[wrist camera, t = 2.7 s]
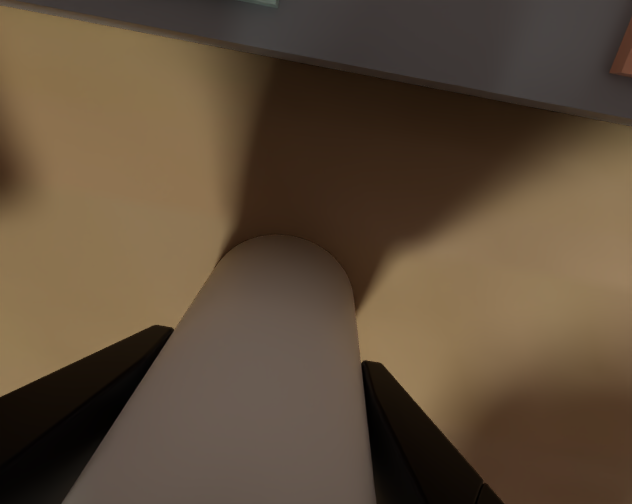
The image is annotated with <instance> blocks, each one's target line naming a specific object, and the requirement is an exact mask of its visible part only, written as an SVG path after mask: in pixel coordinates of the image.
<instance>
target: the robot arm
mask: <svg viewBox="0 0 632 504" xmlns="http://www.w3.org/2000/svg"><path fill="white" fill-rule="evenodd" d="M173 331H174V329H173V328H172V327H166V326H160V325H154V326H151V327H149V328H147V329H145V330H143V331H140V332H138V333H136V334H134V335H132V336H130V337H128V338H126V339H123V340H121V341H119V342H117V343H115V344H113V345H111V346H108V347H106V348H104V349H102V350H100V351H98V352H96V353H94V354H91V355H89V356H87V357H85V358H83V359H81V360H79V361H76V362H74V363H72V364H70V365H68V366H66V367H64V368H61V369H59V370H57V371H55V372H53V373H51V374H49V375H47V376H44V377H42V378H40V379H38V380H36V381H34V382H32V383H29V384H27V385H25V386H23V387H21V388H19V389H17V390H15V391H12V392H10V393H8V394H6V395H4V396H2V397H0V504H61V503H62V502H63V500H64V499H65V497H66V495H67V494H68V492H69V491H70V489H71V488H72V486H73V485H74V483H75V482H76V480H77V479H78V477H79V476H80V474H81V472H82V471H83V469H84V468H85V466H86V465H87V463H88V462H89V460H90V459H91V457H92V456H93V454H94V453H95V451H96V449H97V448H98V446H99V445H100V443H101V442H102V440H103V439H104V437H105V436H106V434H107V433H108V431H109V429H110V428H111V426H112V425H113V423H114V422H115V420H116V419H117V417H118V416H119V414H120V413H121V411H122V410H123V408H124V406H125V405H126V403H127V402H128V400H129V399H130V397H131V396H132V394H133V393H134V391H135V390H136V388H137V387H138V385H139V383H140V382H141V380H142V379H143V377H144V376H145V374H146V373H147V371H148V370H149V368H150V367H151V365H152V363H153V362H154V360H155V359H156V357H157V356H158V354H159V353H160V351H161V350H162V348H163V347H164V345H165V344H166V342H167V340H168V339H169V337H170V336H171V334H172V333H173ZM361 368H362V377H363V386H364V395H365V404H366V413H367V422H368V431H369V440H370V449H371V458H372V467H373V476H374V485H375V495H376V504H504V503H503V502H502V500H501V499H500V498H499V497H498V496H497V495H496V494H495V492H494V491H493V490H492V489H491V488H490V487H489V486H488V484H486V483H483V479H482V478H481V477H480V476H479V474H478V473H477V472H476V471H475V470H474V469H473V467H472V466H471V465H470V464H469V463H468V462H467V461H466V459H465V458H464V457H463V456H462V455H461V454H460V453H459V451H458V450H457V449H456V448H455V447H454V446H453V445H452V443H451V442H450V441H449V440H448V439H447V438H446V437H445V435H444V434H443V433H442V432H441V431H440V430H439V428H438V427H437V426H436V425H435V424H434V423H433V422H432V420H431V419H430V418H429V417H428V416H427V415H426V414H425V412H424V411H423V410H422V409H421V408H420V407H419V406H418V404H417V403H416V402H415V401H414V400H413V399H412V398H411V396H410V395H409V394H408V393H407V392H406V391H405V390H404V388H403V387H402V386H401V385H400V384H399V383H398V381H397V380H396V379H395V378H394V377H393V376H392V375H391V373H390V372H389V371H388V370H387V369H386V368H385V367H384V365H383V364H381V363H379V362H373V361H367V360H364V361H363V362H362V363H361Z"/></svg>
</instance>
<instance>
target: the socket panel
mask: <svg viewBox="0 0 632 504" xmlns="http://www.w3.org/2000/svg"><path fill="white" fill-rule="evenodd" d="M0 5H2V6H8V7H13V8H18V9H23V10H28V11H34V12H39V13H44V14H49V15H55V16H60V17H65V18H70V19H75V20H81V21H86V22H91V23H96V24H101V25H107V26H112V27H117V28H122V29H128V30H133V31H138V32H143V33H148V34H154V35H159V36H164V37H169V38H174V39H180V40H185V41H190V42H195V43H201V44H206V45H211V46H216V47H221V48H227V49H232V50H237V51H242V52H247V53H253V54H258V55H263V56H268V57H273V58H279V59H284V60H289V61H294V62H300V63H305V64H310V65H315V66H320V67H326V68H331V69H336V70H341V71H346V72H352V73H357V74H362V75H367V76H373V77H378V78H383V79H388V80H393V81H399V82H404V83H409V84H414V85H419V86H425V87H430V88H435V89H440V90H446V91H451V92H456V93H461V94H466V95H472V96H477V97H482V98H487V99H492V100H498V101H503V102H508V103H513V104H518V105H524V106H529V107H534V108H539V109H545V110H550V111H555V112H560V113H565V114H571V115H576V116H581V117H586V118H591V119H597V120H602V121H607V122H612V123H618V124H623V125H628V126H632V0H0Z"/></svg>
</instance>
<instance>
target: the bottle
mask: <svg viewBox="0 0 632 504" xmlns="http://www.w3.org/2000/svg"><path fill="white" fill-rule="evenodd" d="M61 504H376V495H375V485H374V476H373V467H372V458H371V449H370V440H369V431H368V422H367V413H366V404H365V395H364V386H363V377H362V368H361V359H360V350H359V341H358V331H357V322H356V313H355V304H354V296H353V290H352V286H351V283H350V280H349V278H348V276H347V274H346V272H345V271H344V269H343V268H342V266H341V265H340V264H339V262H338V261H337V260H336V259H335V258H334V257H333V256H332V255H331V254H330V253H329V252H327V251H326V250H324V249H323V248H322V247H320V246H318V245H316V244H314V243H312V242H310V241H308V240H305V239H302V238H299V237H295V236H289V235H265V236H259V237H256V238H252V239H249V240H247V241H245V242H242V243H241V244H239V245H237V246H235V247H234V248H233V249H231V250H230V251H229V252H227V253H226V254H225V255H224V257H223V258H222V259H221V260H220V261H219V263H218V264H217V265H216V267H215V268H214V270H213V271H212V273H211V274H210V276H209V278H208V279H207V281H206V282H205V284H204V285H203V287H202V288H201V290H200V291H199V293H198V294H197V296H196V297H195V299H194V301H193V302H192V304H191V305H190V307H189V308H188V310H187V311H186V313H185V314H184V316H183V317H182V319H181V321H180V322H179V324H178V325H177V327H176V328H175V330H174V331H173V333H172V334H171V336H170V337H169V339H168V340H167V342H166V344H165V345H164V347H163V348H162V350H161V351H160V353H159V354H158V356H157V357H156V359H155V360H154V362H153V363H152V365H151V367H150V368H149V370H148V371H147V373H146V374H145V376H144V377H143V379H142V380H141V382H140V383H139V385H138V387H137V388H136V390H135V391H134V393H133V394H132V396H131V397H130V399H129V400H128V402H127V403H126V405H125V406H124V408H123V410H122V411H121V413H120V414H119V416H118V417H117V419H116V420H115V422H114V423H113V425H112V426H111V428H110V429H109V431H108V433H107V434H106V436H105V437H104V439H103V440H102V442H101V443H100V445H99V446H98V448H97V449H96V451H95V453H94V454H93V456H92V457H91V459H90V460H89V462H88V463H87V465H86V466H85V468H84V469H83V471H82V472H81V474H80V476H79V477H78V479H77V480H76V482H75V483H74V485H73V486H72V488H71V489H70V491H69V492H68V494H67V495H66V497H65V499H64V500H63V502H62V503H61Z"/></svg>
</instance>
